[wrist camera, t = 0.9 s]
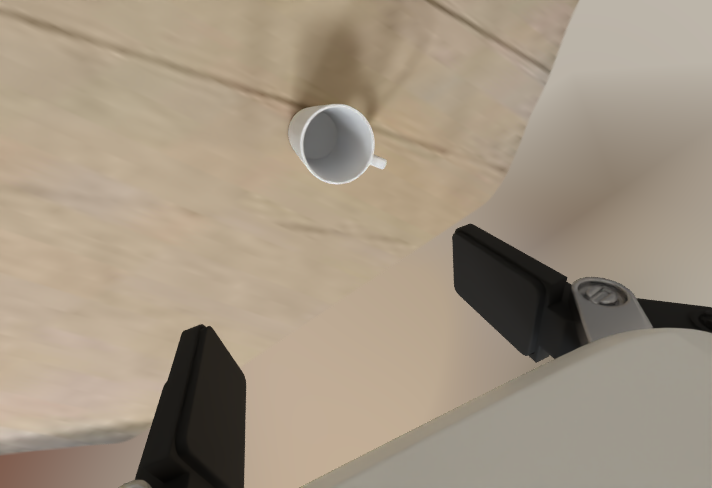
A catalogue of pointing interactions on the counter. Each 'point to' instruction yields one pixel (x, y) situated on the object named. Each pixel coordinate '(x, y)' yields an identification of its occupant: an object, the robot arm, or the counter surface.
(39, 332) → the counter surface
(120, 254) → the counter surface
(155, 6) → the counter surface
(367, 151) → the mug
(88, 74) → the counter surface
